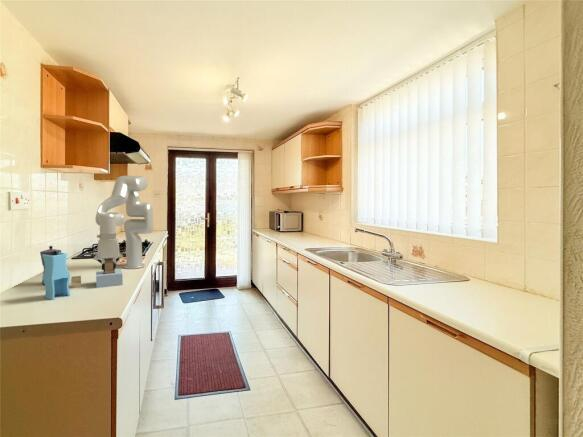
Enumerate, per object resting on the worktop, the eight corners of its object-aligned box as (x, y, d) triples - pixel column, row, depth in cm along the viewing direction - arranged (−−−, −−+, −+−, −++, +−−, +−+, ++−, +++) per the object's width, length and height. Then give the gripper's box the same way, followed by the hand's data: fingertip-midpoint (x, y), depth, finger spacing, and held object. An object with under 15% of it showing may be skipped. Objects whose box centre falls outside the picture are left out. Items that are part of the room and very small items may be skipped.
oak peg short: (72, 286, 177) (71, 276, 177) (81, 285, 179) (80, 275, 179) (71, 287, 174) (71, 278, 173) (80, 286, 176) (80, 277, 175)
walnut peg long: (104, 280, 183) (104, 258, 182) (113, 279, 185) (112, 258, 184) (105, 282, 179) (104, 260, 179) (113, 281, 181) (113, 259, 181)
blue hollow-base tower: (61, 293, 164) (60, 252, 163) (70, 295, 161) (69, 253, 159) (43, 297, 157) (41, 254, 156) (52, 300, 154) (50, 256, 152)
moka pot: (57, 279, 190) (55, 243, 189) (69, 283, 182) (68, 246, 180) (37, 282, 183) (35, 245, 181) (48, 287, 174) (47, 248, 172)
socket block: (96, 282, 184) (96, 271, 184) (121, 279, 190) (120, 269, 190) (96, 287, 174) (96, 276, 174) (122, 284, 180) (122, 273, 180)
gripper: (89, 238, 173) (90, 273, 174) (126, 236, 181) (126, 270, 183) (89, 236, 179) (90, 271, 181) (124, 235, 188) (125, 267, 189)
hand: (109, 270), depth 182 cm, fingers closed on walnut peg long, 3 cm apart
